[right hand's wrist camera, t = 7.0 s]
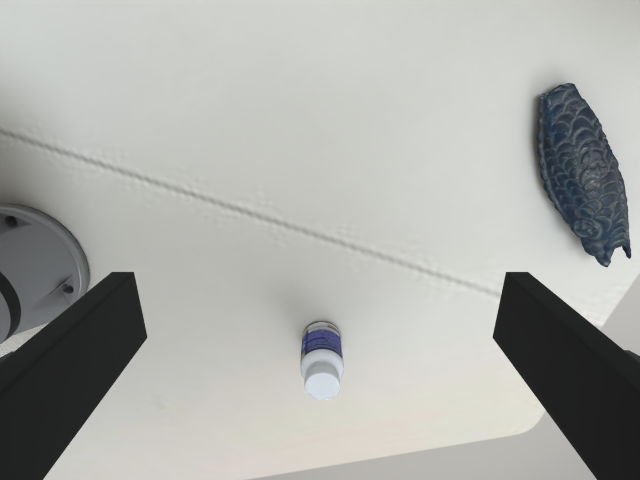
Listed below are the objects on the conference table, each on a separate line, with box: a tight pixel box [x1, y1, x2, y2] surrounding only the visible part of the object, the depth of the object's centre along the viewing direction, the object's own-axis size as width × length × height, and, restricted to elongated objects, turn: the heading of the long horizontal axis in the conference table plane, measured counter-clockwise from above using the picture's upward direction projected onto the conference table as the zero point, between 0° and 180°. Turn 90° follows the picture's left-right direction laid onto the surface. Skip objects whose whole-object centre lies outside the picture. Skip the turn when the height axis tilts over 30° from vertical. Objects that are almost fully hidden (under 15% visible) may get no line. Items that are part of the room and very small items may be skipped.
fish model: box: [537, 83, 631, 267], centre depth 38 cm, size 7×21×5 cm, turn 29°
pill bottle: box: [300, 322, 344, 400], centre depth 44 cm, size 5×5×9 cm
